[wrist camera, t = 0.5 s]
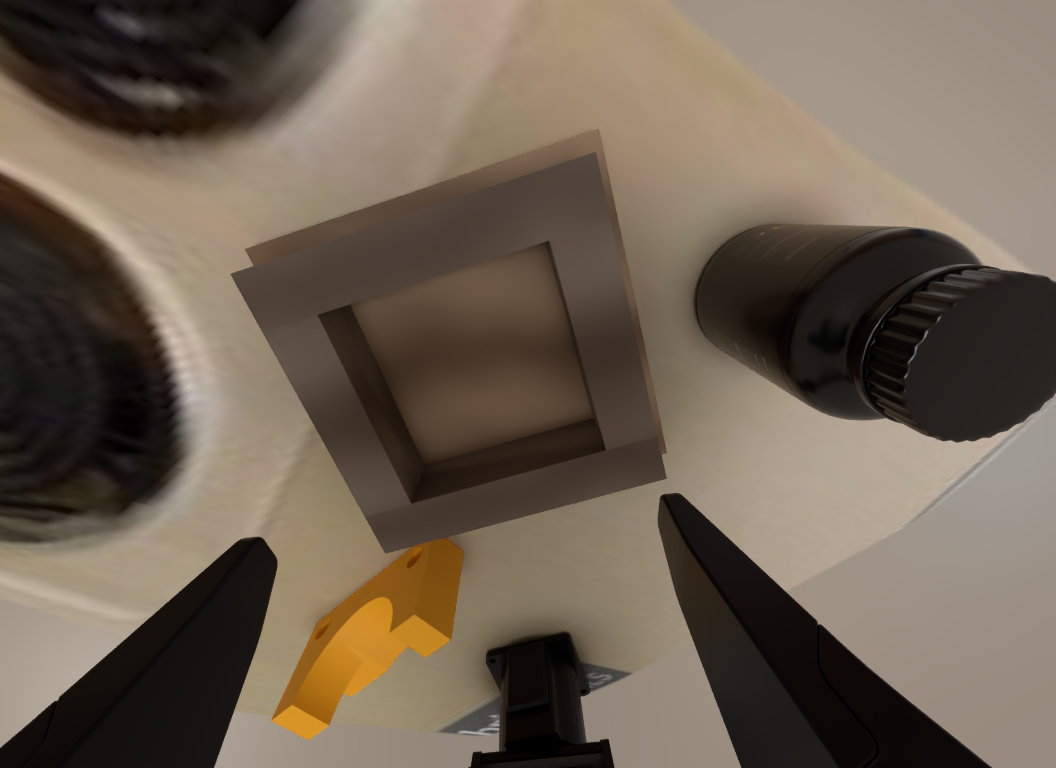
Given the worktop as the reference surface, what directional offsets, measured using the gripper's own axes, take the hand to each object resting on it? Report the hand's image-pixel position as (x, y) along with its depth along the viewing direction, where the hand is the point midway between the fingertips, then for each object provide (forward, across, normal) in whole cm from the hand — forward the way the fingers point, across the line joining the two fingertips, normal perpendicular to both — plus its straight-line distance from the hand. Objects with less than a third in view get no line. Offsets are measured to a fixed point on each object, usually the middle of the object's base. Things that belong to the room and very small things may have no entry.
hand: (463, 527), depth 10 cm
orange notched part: (+11, +9, +20) cm, 24 cm away
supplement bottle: (+15, -14, +2) cm, 20 cm away
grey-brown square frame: (+14, +1, +4) cm, 15 cm away
